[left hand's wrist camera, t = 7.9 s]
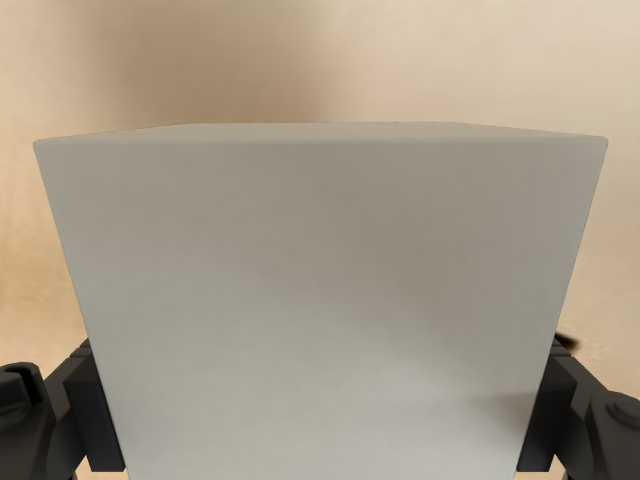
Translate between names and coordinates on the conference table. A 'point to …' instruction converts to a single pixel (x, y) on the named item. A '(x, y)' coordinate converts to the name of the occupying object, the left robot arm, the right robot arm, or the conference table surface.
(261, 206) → the wide beam
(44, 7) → the conference table surface
